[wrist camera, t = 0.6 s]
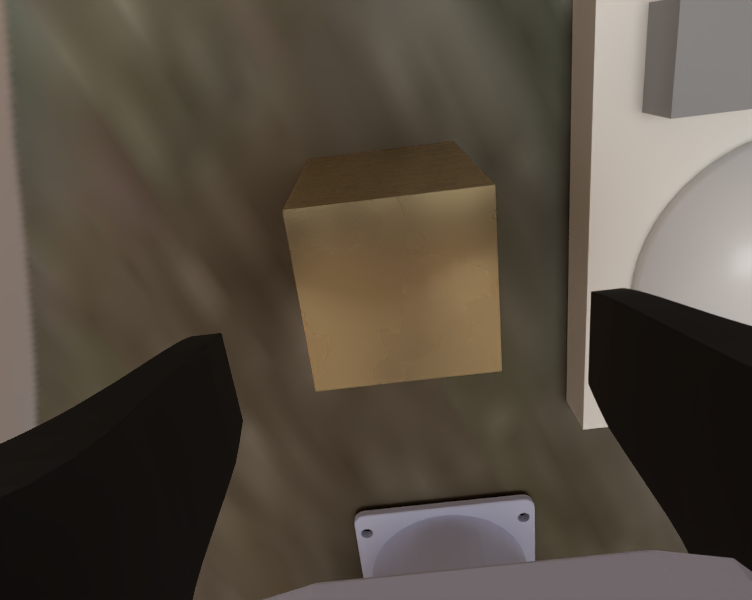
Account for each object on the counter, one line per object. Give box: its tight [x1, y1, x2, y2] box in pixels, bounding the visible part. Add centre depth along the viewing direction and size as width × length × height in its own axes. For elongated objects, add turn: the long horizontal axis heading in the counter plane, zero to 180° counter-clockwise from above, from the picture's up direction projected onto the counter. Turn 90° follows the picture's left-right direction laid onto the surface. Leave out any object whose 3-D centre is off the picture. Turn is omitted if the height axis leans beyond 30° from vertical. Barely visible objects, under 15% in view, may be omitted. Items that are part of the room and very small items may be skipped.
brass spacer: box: [282, 142, 502, 391], centre depth 18 cm, size 5×5×7 cm
